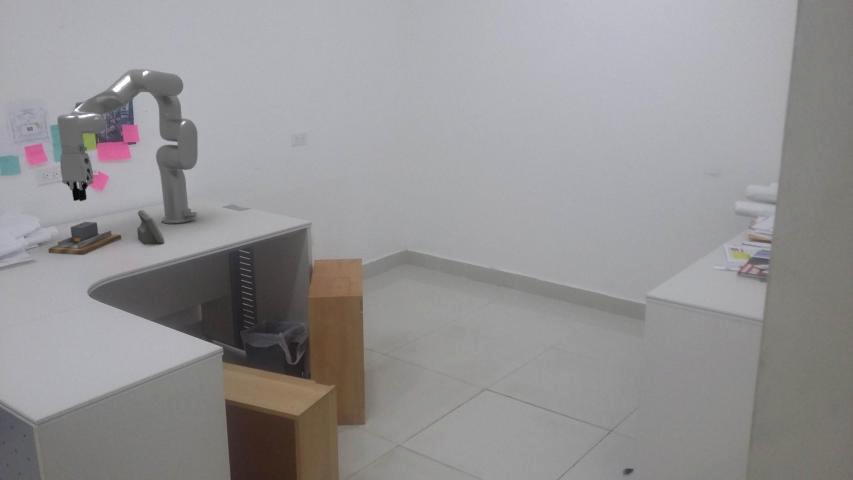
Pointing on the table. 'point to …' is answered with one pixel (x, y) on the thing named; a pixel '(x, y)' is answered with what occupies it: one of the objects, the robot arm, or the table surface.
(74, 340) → the table surface
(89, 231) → the block
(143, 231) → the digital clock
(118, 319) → the table surface
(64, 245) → the rail mount
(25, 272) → the table surface
